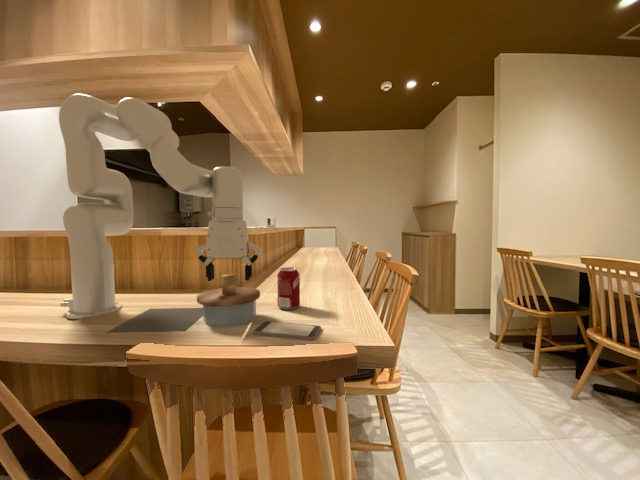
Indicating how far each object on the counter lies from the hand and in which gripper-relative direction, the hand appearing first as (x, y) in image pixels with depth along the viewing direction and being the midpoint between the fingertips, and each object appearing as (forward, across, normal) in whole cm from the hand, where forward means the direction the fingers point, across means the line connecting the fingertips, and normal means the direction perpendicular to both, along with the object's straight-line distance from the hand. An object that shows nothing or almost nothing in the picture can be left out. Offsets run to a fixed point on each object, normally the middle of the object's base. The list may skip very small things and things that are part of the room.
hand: (229, 279), depth 74 cm
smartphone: (+11, +16, -9) cm, 22 cm away
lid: (+5, 0, 0) cm, 5 cm away
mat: (+11, -17, 0) cm, 20 cm away
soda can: (+11, +15, +10) cm, 21 cm away
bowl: (+11, 0, 0) cm, 11 cm away
